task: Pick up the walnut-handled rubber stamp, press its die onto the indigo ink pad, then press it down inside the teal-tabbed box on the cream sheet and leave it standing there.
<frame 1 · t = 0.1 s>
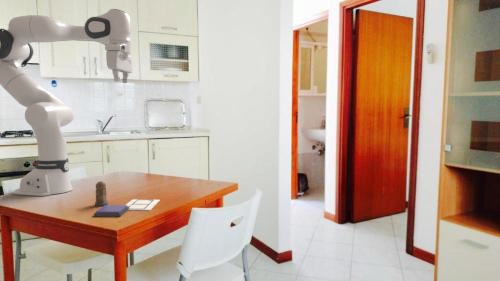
hand: (121, 82, 152), 48 cm above the table, fingers open, 8 cm apart
stamp: (101, 204, 134), on the table
sheet: (140, 205, 134), on the table
inkpad: (112, 212, 124), on the table
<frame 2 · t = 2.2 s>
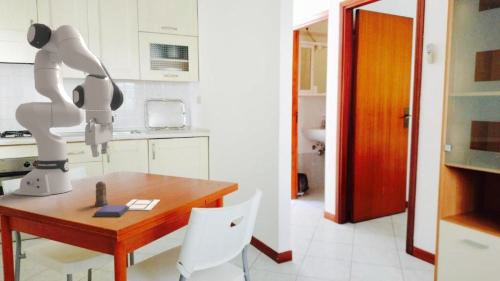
hand: (100, 155, 133), 19 cm above the table, fingers open, 8 cm apart
nothing on the table moved.
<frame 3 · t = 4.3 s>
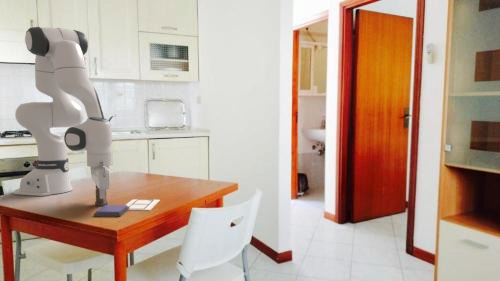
hand: (101, 196, 134), 3 cm above the table, fingers closed on stamp, 4 cm apart
stamp: (101, 204, 134), on the table, touching gripper
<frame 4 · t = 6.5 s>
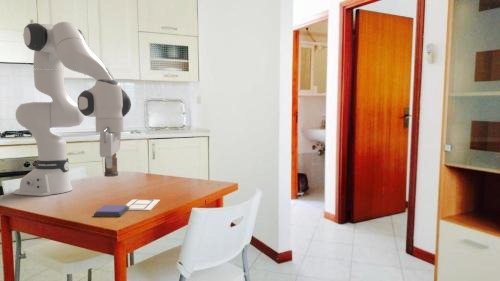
hand: (110, 166, 123), 16 cm above the table, fingers closed on stamp, 4 cm apart
stamp: (111, 175, 123), point 13 cm above the table, touching gripper
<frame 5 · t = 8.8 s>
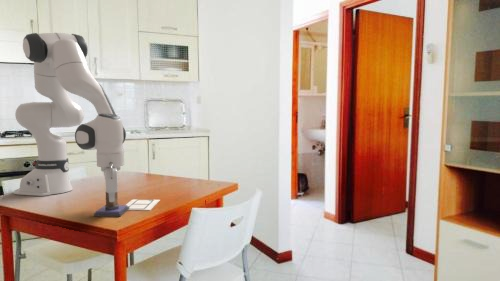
hand: (111, 199, 124), 5 cm above the table, fingers closed on stamp, 4 cm apart
stamp: (112, 208, 124), point 2 cm above the table, touching gripper, inkpad
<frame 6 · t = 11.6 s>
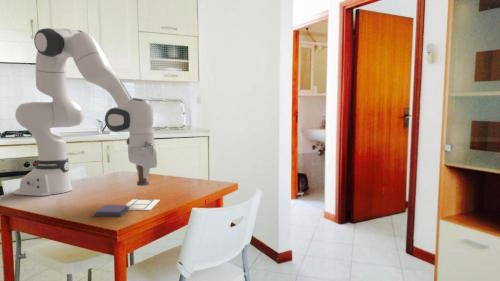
hand: (142, 176, 136), 10 cm above the table, fingers closed on stamp, 4 cm apart
stamp: (143, 184, 137), point 7 cm above the table, touching gripper
when the fingers open (4 cm above the table, at t = 13.8 s): stamp stays where it is, resting on sheet.
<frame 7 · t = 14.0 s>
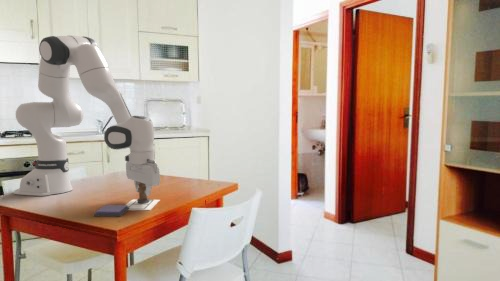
hand: (143, 193, 137), 4 cm above the table, fingers open, 5 cm apart
stamp: (143, 202, 138), resting on sheet
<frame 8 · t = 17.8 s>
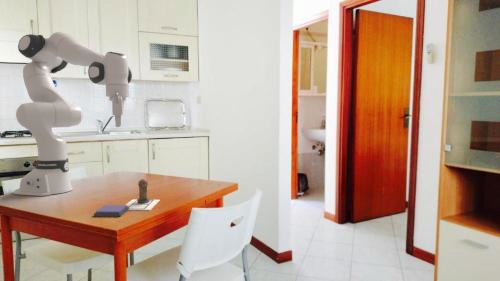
hand: (118, 126, 146), 29 cm above the table, fingers open, 8 cm apart
nothing on the table moved.
at the end: stamp inside the target area on the sheet (0.1 cm from its centre), point 0.3 cm above the sheet's base; stamp tilted 0°; the gripper is holding nothing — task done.
